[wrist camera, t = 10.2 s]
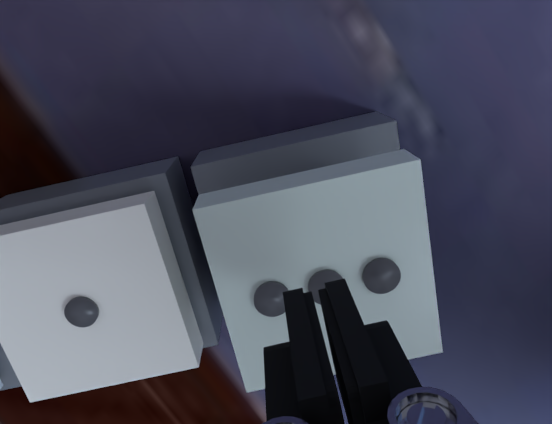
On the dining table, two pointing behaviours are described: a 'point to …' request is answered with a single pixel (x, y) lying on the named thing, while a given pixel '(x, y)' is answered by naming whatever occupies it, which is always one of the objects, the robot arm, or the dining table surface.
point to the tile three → (323, 252)
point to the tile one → (94, 299)
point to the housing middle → (175, 212)
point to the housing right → (295, 151)
